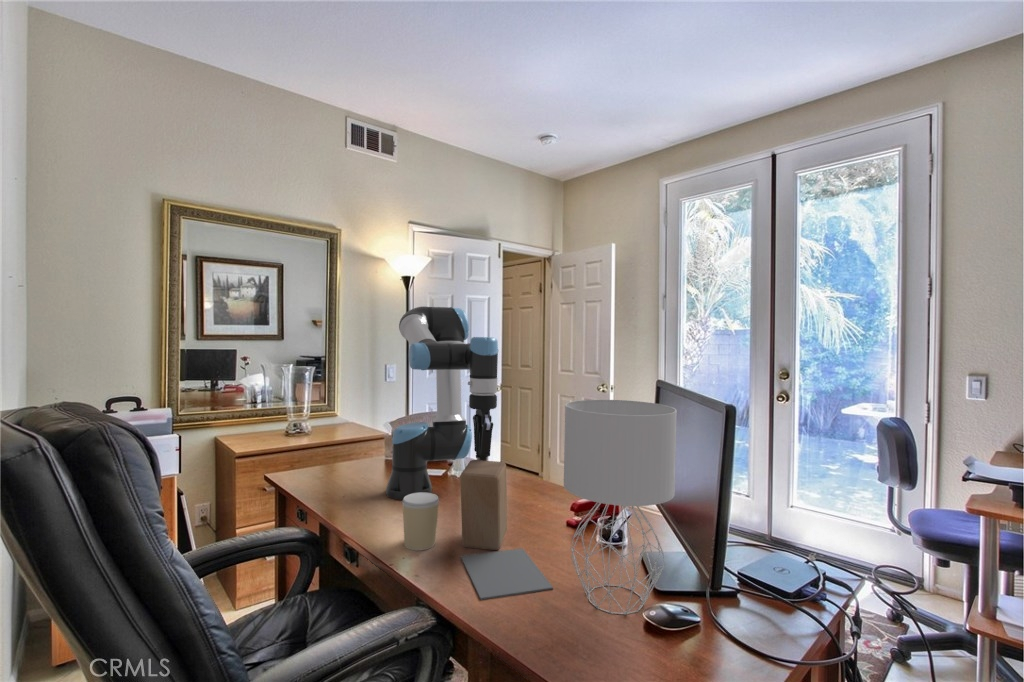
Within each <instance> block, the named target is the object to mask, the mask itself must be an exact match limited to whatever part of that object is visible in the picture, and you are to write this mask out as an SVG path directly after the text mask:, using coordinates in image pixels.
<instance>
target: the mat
mask: <svg viewBox="0 0 1024 682" xmlns="http://www.w3.org/2000/svg"><path fill="white" fill-rule="evenodd" d="M460 558H461V561H462V563H463V565H464V568H465V569H466V572H467V573H468V575H469V578H470V581H471V583H472V584H473V587H474V588H475V591H476V593H477V595H478V597H479V599H480V601H483V600H490V599H496V598H503V597H511V596H516V595H517V596H518V595H524V594H525V595H526V594H529V593H530V594H531V593H536V592H537V593H539V592H544V591H550V590H554V587H553V585H552V584H551V583H550V581H549V580H548V579H547V578H546V576H545V575H544V573H543V572H542V571H541V569H540V568H539V567H538V565H537V564H536V563H535V562H534V560H532V558H531V557H530V556H529V554H528V553H527V552H526V550H525V549H524V548H523V547H522V548H515V549H506V550H495V551H488V552H481V553H473V554H472V553H471V554H464V555H460Z"/></svg>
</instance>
